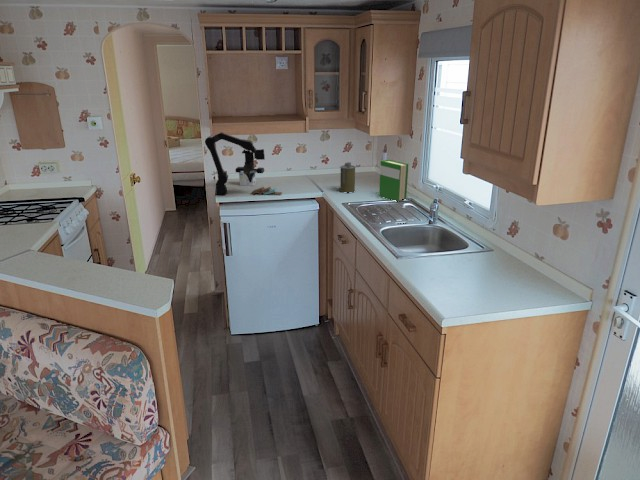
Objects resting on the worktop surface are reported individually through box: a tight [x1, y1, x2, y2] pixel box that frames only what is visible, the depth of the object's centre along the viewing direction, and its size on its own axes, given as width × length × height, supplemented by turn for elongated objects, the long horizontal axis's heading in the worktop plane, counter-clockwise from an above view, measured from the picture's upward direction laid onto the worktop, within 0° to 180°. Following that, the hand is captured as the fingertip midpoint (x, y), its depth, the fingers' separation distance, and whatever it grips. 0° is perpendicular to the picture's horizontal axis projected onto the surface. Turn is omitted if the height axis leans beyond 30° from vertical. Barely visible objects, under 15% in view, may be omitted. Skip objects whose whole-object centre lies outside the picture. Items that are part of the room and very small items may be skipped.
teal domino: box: [263, 187, 278, 196], centre depth 315 cm, size 2×5×8 cm
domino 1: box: [251, 186, 266, 195], centre depth 316 cm, size 2×5×8 cm
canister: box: [339, 161, 356, 193], centre depth 317 cm, size 11×10×20 cm
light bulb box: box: [238, 171, 257, 187], centre depth 339 cm, size 11×7×11 cm, turn 84°
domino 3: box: [268, 191, 283, 196], centre depth 316 cm, size 2×5×8 cm
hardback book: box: [378, 159, 409, 202], centre depth 300 cm, size 18×7×24 cm, turn 36°
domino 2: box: [258, 186, 272, 195], centre depth 315 cm, size 2×5×8 cm
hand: (250, 182), depth 315 cm, fingers closed
